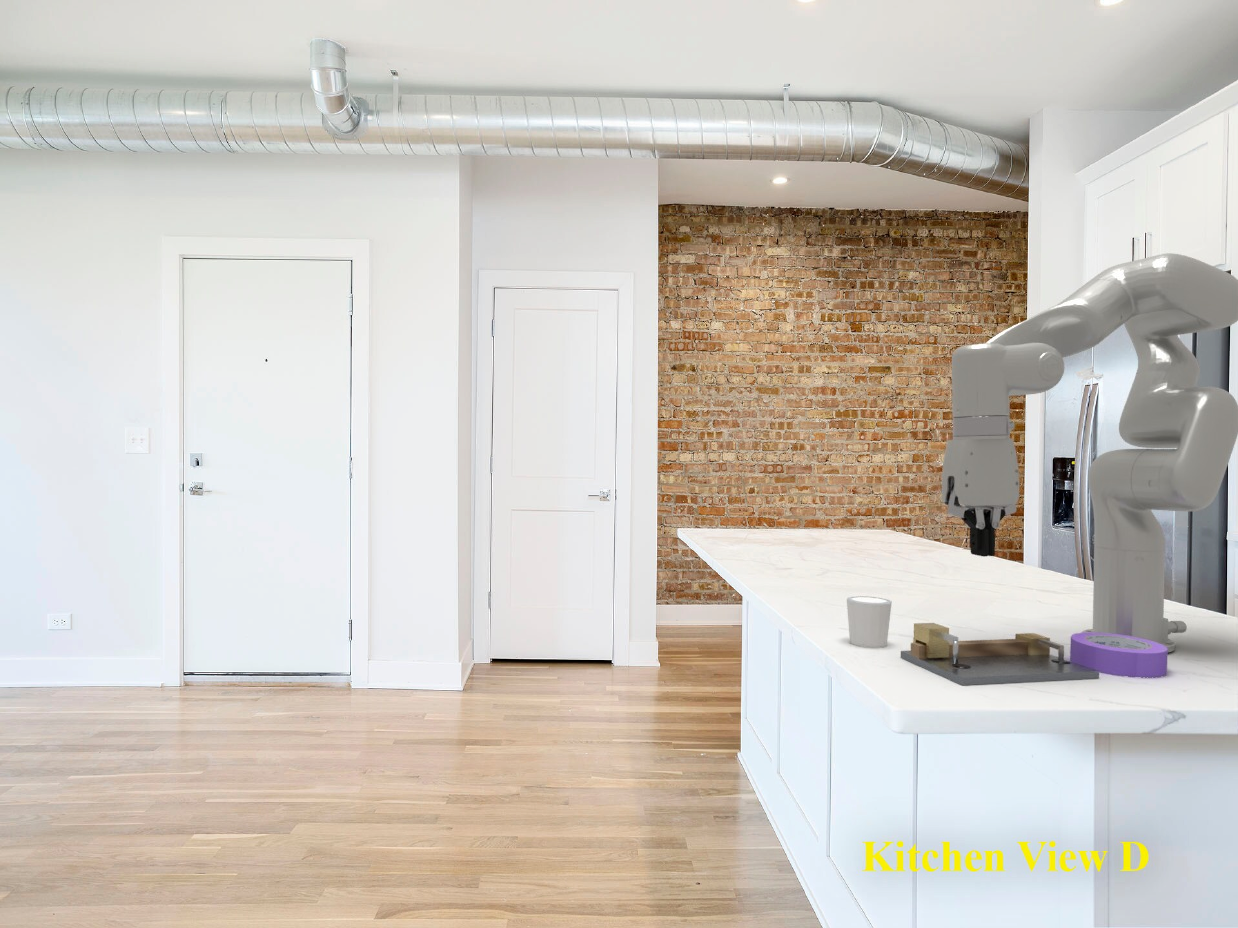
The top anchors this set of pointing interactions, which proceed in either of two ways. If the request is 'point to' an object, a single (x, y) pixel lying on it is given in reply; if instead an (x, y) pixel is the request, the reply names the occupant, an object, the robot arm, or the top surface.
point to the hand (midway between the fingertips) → (982, 554)
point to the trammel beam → (998, 647)
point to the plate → (1004, 668)
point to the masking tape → (1119, 654)
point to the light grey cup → (868, 621)
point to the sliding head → (936, 640)
